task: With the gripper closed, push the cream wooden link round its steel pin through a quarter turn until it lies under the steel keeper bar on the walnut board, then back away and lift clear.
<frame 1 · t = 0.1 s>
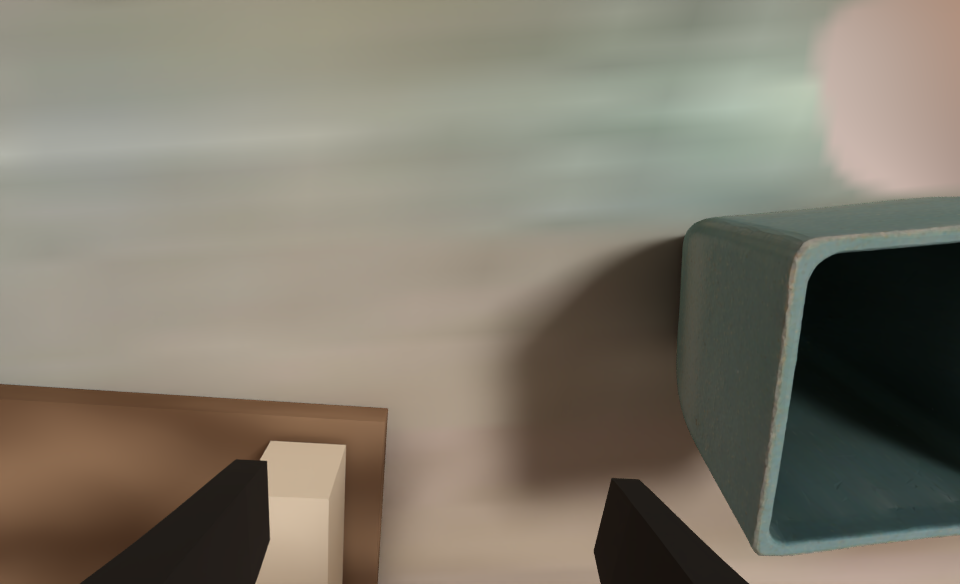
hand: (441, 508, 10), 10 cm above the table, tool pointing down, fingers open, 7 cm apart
hinge board: (185, 542, 22), on the table
flower pot: (734, 282, 20), on the table
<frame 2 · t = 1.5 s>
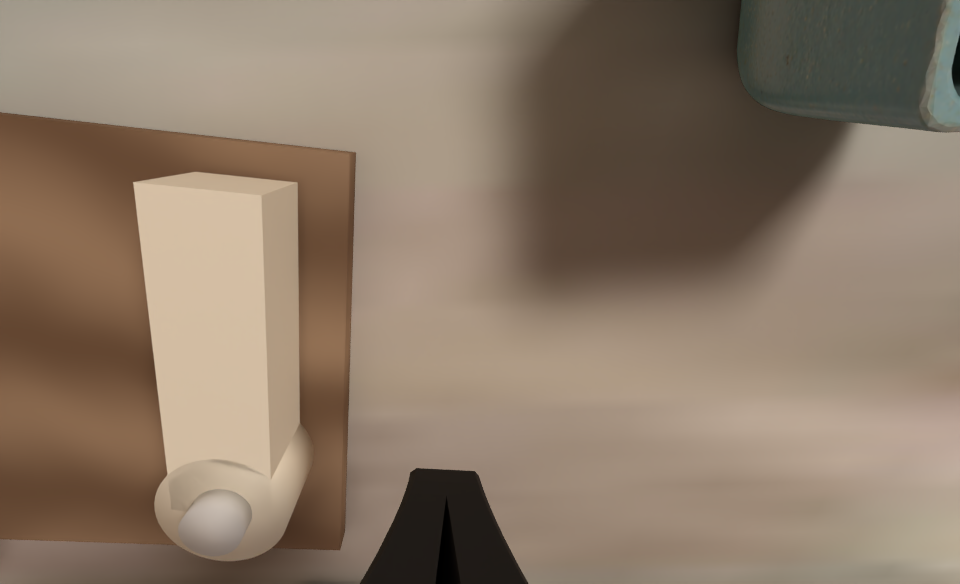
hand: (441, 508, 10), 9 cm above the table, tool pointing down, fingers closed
hinge board: (99, 350, 17), on the table
link: (230, 381, 15), point 3 cm above the table, hinge at 0.0°
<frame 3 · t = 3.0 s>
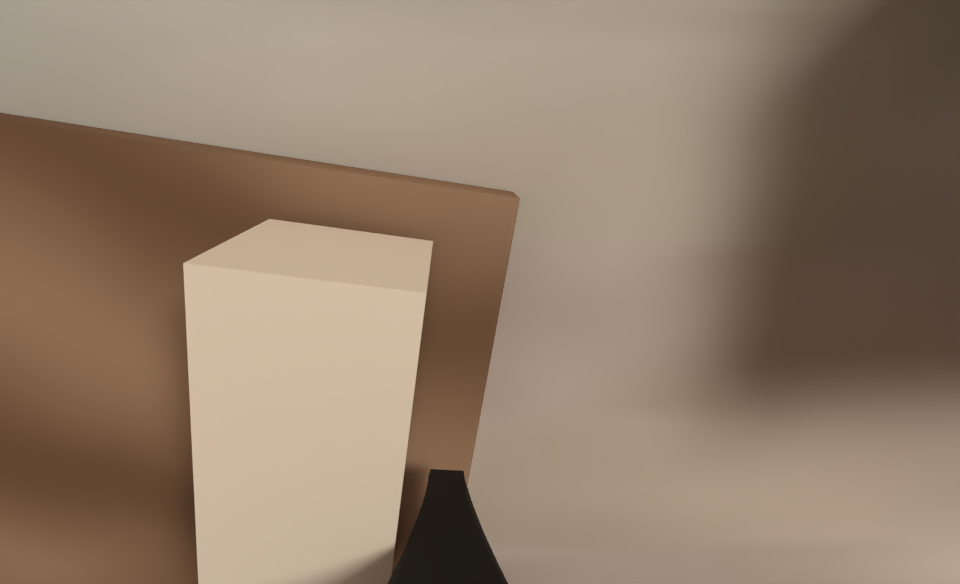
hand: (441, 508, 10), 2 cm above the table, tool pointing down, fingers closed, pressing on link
hinge board: (95, 464, 12), on the table
link: (312, 562, 9), point 3 cm above the table, hinge at 0.2°, touching gripper
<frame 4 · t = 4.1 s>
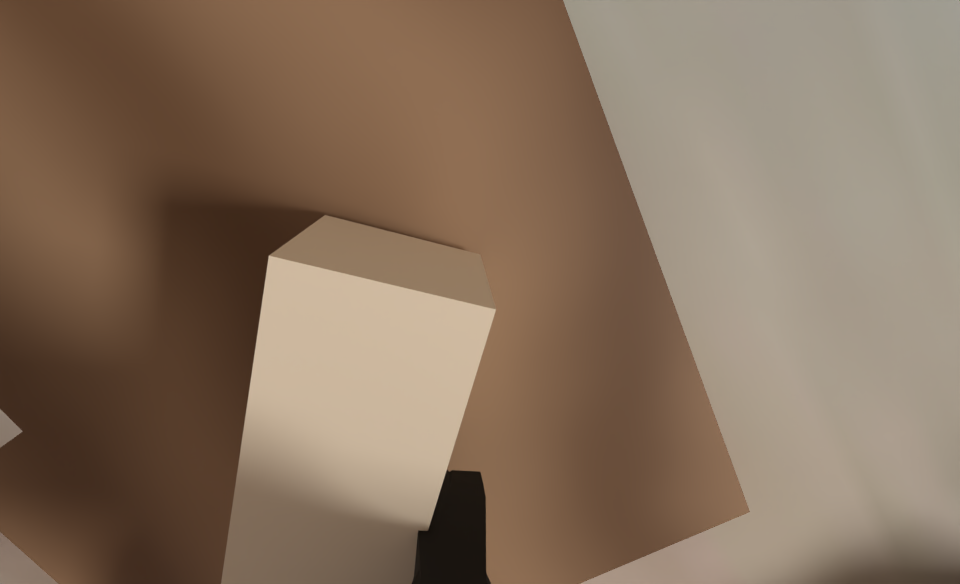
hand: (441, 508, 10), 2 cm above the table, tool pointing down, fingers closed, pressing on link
hinge board: (302, 348, 11), on the table
link: (326, 556, 9), point 3 cm above the table, hinge at 48.6°, touching gripper
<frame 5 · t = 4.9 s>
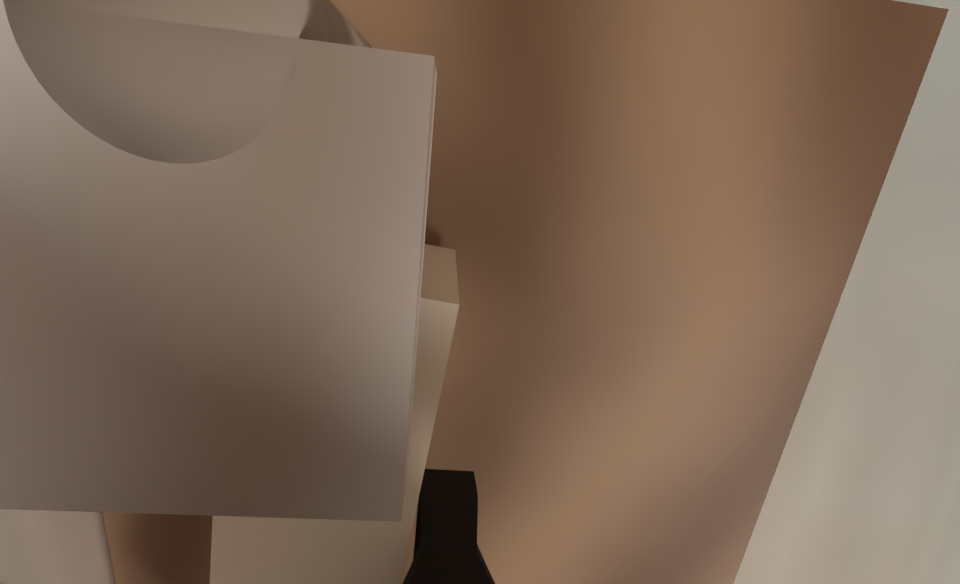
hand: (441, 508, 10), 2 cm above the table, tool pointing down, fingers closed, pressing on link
hinge board: (460, 388, 12), on the table
link: (318, 561, 9), point 3 cm above the table, hinge at 84.3°, touching gripper
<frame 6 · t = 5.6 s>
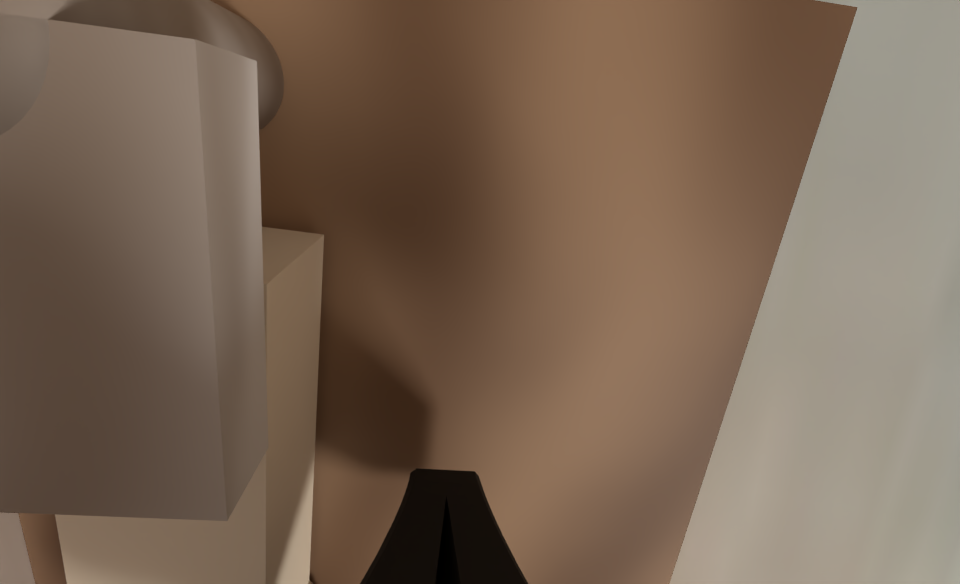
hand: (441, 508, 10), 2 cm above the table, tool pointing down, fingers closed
hinge board: (386, 387, 11), on the table
link: (203, 560, 9), point 3 cm above the table, hinge at 88.4°
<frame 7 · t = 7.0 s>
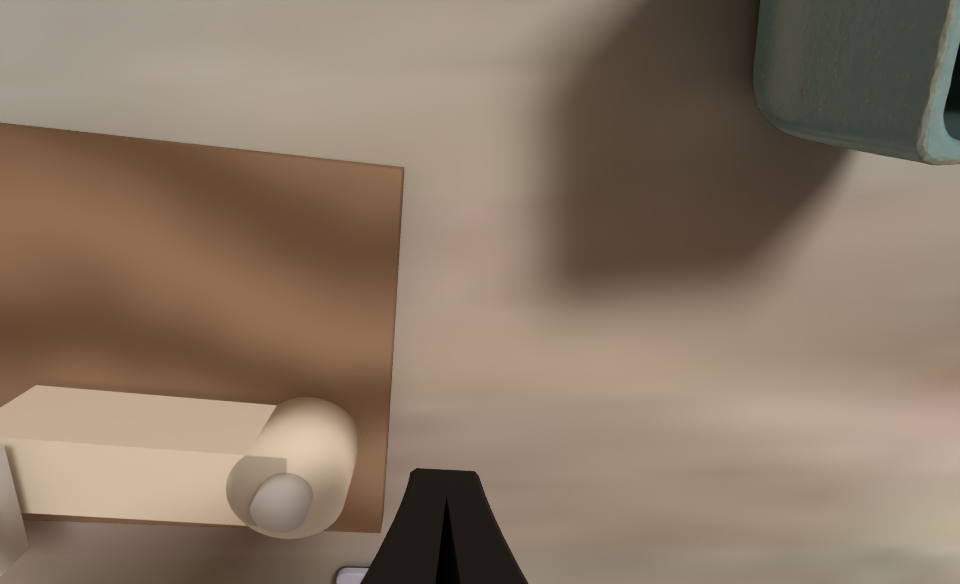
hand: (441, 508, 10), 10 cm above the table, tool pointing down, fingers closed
hinge board: (164, 348, 19), on the table
link: (181, 464, 17), point 3 cm above the table, hinge at 88.4°
flower pot: (821, 6, 17), on the table
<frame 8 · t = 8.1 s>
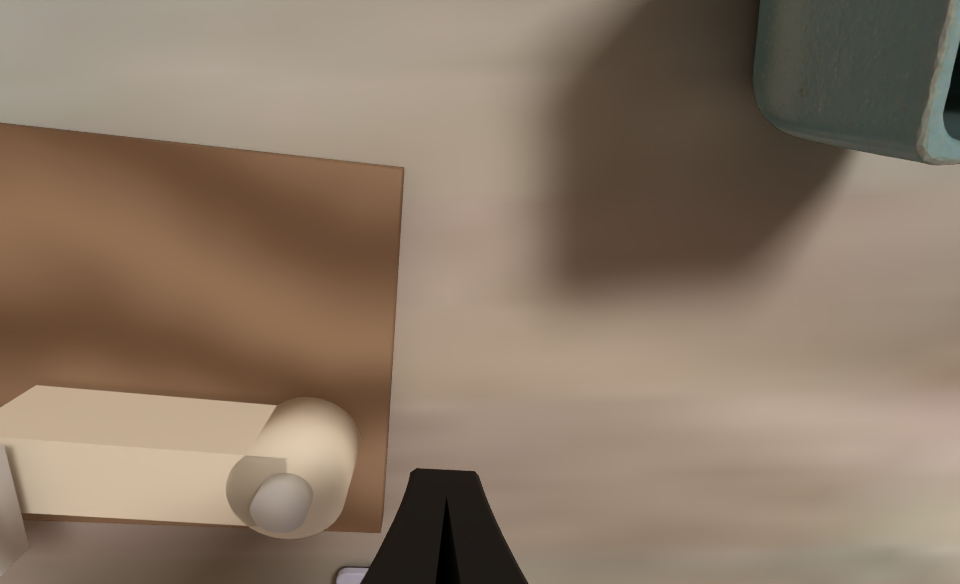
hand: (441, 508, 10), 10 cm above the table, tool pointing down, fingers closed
hinge board: (164, 348, 19), on the table
link: (181, 464, 17), point 3 cm above the table, hinge at 88.4°
flower pot: (821, 6, 17), on the table
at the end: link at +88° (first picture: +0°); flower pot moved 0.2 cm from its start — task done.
